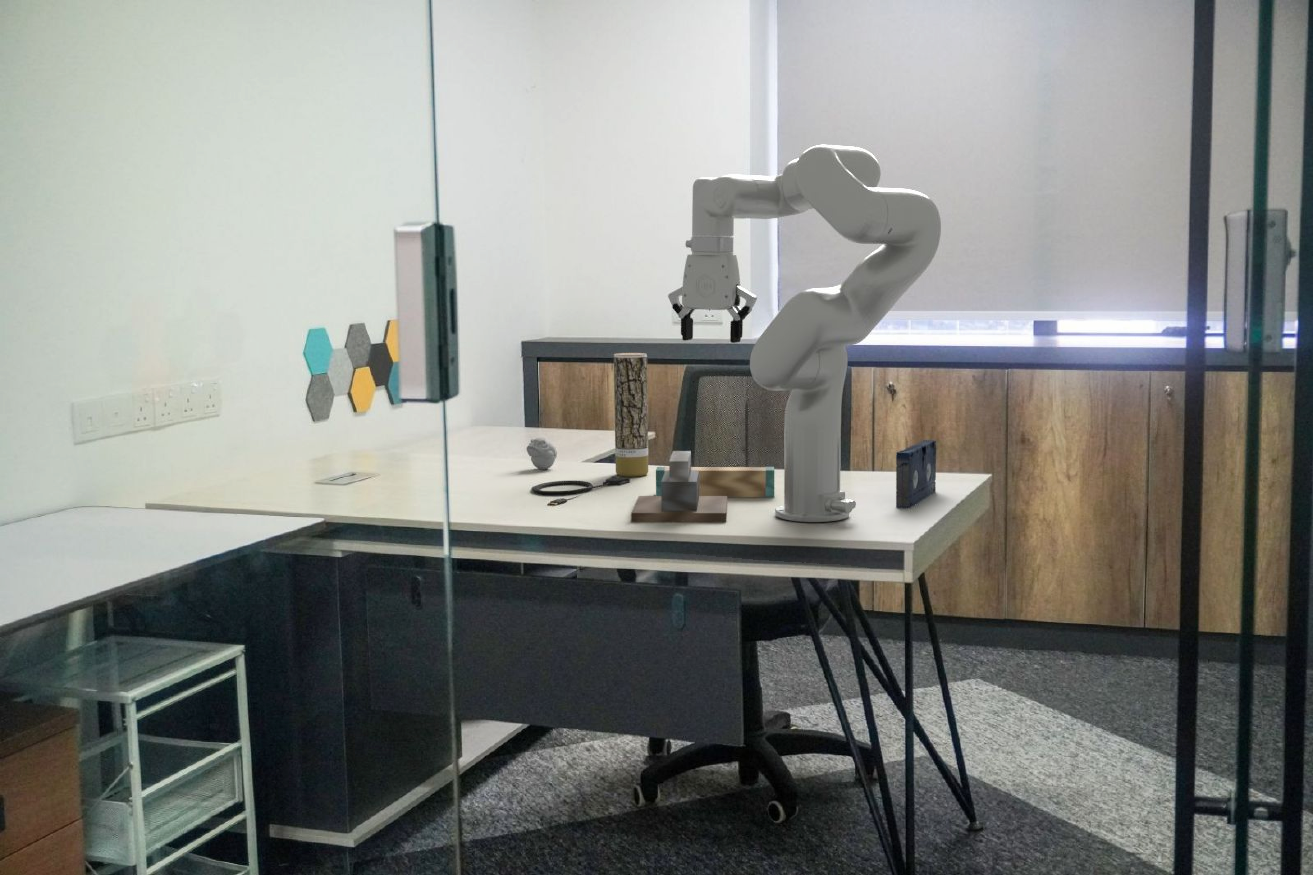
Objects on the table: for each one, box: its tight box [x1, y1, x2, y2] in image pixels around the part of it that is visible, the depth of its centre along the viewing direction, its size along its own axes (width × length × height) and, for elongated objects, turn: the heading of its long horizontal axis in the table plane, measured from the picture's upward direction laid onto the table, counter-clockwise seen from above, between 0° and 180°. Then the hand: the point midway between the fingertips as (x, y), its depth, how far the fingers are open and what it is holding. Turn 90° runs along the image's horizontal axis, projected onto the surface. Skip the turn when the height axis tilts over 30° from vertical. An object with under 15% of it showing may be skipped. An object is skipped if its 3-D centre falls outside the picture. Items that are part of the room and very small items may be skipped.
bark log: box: [613, 352, 649, 478], centre depth 260 cm, size 7×7×25 cm
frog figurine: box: [526, 436, 558, 471], centre depth 270 cm, size 6×7×7 cm
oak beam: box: [655, 466, 775, 498], centre depth 237 cm, size 22×4×5 cm, turn 86°
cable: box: [530, 476, 631, 507], centre depth 244 cm, size 14×28×2 cm, turn 152°
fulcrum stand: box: [630, 450, 728, 523], centre depth 220 cm, size 16×16×10 cm
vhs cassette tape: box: [895, 439, 937, 509], centre depth 230 cm, size 18×3×10 cm, turn 152°
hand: (711, 341), depth 233 cm, fingers open, 9 cm apart
